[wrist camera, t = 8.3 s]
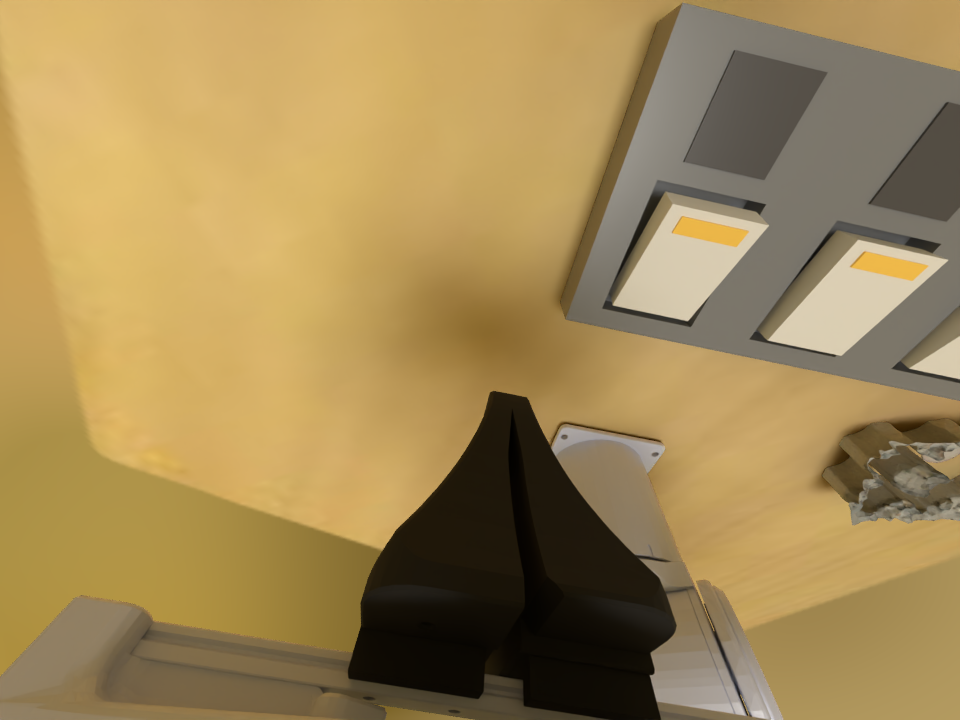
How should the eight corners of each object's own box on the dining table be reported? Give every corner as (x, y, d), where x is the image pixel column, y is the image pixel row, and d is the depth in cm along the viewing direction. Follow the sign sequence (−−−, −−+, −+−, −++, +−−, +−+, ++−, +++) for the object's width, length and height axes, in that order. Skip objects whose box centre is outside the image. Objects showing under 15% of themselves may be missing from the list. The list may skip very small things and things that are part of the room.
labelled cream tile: (681, 306, 18) (688, 322, 17) (609, 291, 18) (612, 306, 17) (756, 211, 14) (770, 226, 13) (665, 191, 14) (673, 204, 13)
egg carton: (1036, 408, 22) (1135, 459, 18) (960, 482, 26) (1029, 535, 22) (850, 414, 23) (910, 462, 20) (805, 484, 27) (848, 534, 24)
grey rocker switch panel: (938, 380, 21) (984, 406, 19) (560, 301, 20) (565, 320, 18) (1208, 157, 14) (1323, 160, 12) (657, 21, 13) (683, 1, 11)
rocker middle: (824, 341, 18) (842, 357, 17) (754, 327, 18) (768, 341, 17) (921, 249, 15) (950, 261, 14) (836, 230, 15) (860, 240, 14)
